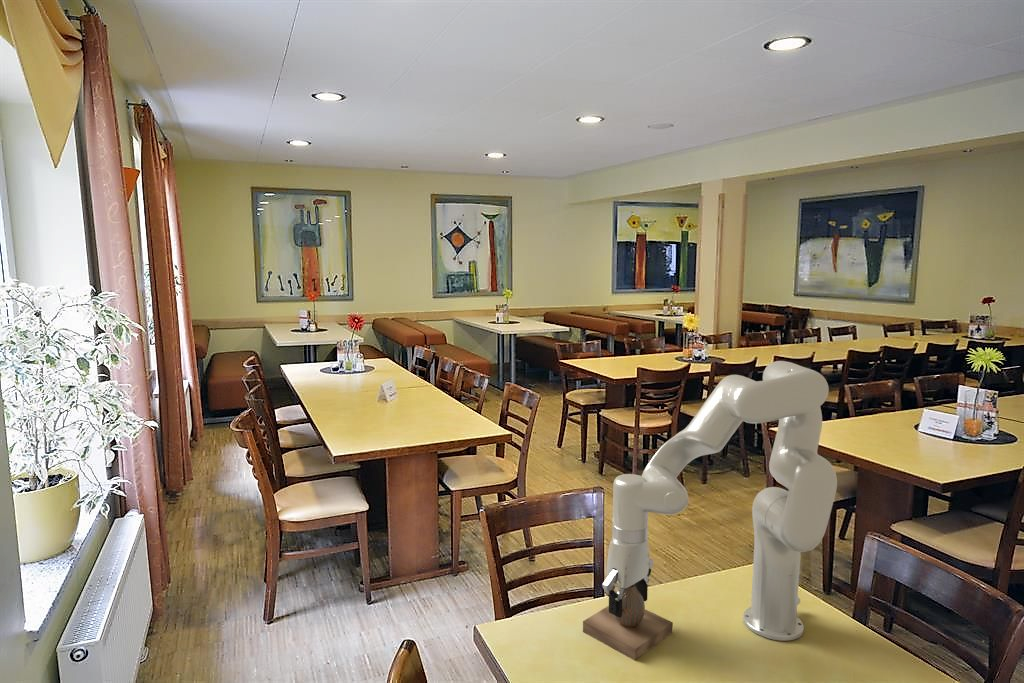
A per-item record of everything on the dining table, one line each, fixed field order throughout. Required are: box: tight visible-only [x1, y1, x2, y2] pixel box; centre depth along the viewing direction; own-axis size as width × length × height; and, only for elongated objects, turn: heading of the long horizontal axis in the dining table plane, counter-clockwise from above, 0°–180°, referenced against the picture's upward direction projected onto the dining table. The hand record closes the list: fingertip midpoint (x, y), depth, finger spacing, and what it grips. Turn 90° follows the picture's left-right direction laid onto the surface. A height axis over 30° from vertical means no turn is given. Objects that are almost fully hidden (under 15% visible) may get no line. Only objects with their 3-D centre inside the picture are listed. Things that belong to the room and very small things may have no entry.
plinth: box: [582, 605, 674, 661], centre depth 141 cm, size 14×14×2 cm
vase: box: [615, 584, 646, 627], centre depth 140 cm, size 7×7×9 cm
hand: (628, 606), depth 140 cm, fingers open, 8 cm apart
